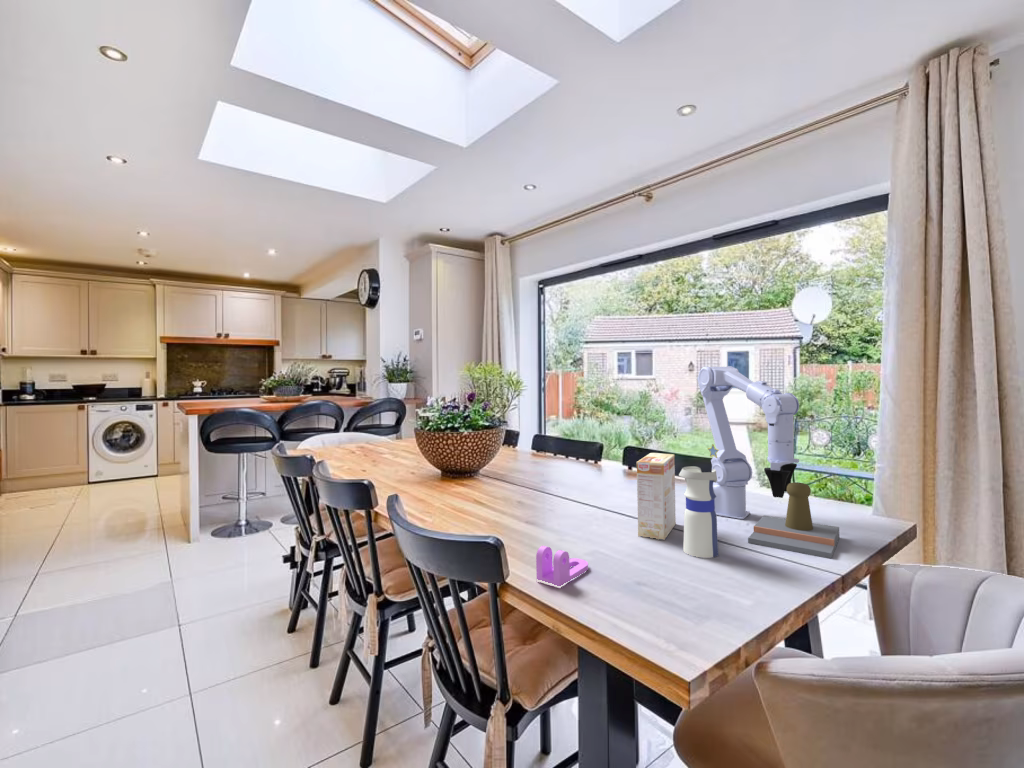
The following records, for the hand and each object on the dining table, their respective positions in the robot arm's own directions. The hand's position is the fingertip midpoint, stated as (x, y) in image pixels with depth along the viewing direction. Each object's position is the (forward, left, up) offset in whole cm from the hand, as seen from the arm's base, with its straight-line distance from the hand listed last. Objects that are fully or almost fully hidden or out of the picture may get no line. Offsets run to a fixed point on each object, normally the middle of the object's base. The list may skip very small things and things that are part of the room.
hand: (781, 493), depth 122 cm
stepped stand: (+3, -3, -10) cm, 11 cm away
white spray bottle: (-13, -24, -11) cm, 29 cm away
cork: (+4, 0, -8) cm, 9 cm away
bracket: (-31, -54, -11) cm, 63 cm away
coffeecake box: (-27, -15, -11) cm, 32 cm away
